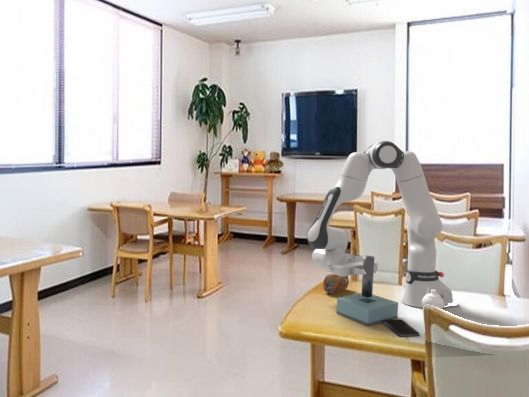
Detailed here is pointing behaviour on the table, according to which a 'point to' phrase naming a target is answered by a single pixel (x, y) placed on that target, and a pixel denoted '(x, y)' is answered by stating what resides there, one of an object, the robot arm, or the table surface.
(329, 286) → the tin
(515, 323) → the table surface
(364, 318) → the hole block
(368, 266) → the pin
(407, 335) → the phone
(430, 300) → the spinning top
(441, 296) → the robot arm
